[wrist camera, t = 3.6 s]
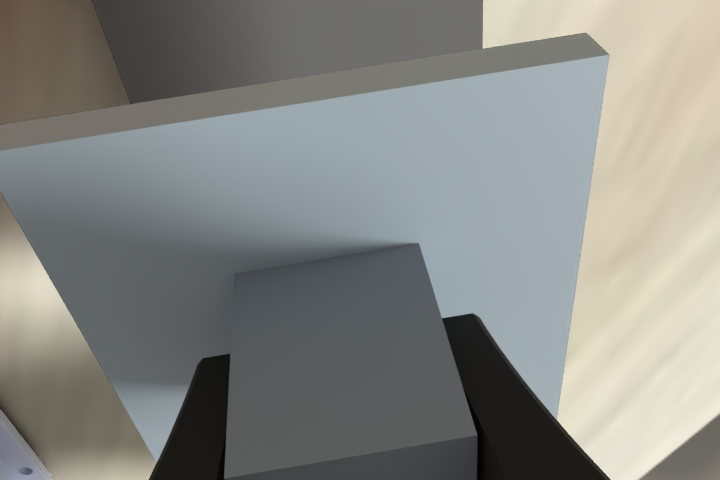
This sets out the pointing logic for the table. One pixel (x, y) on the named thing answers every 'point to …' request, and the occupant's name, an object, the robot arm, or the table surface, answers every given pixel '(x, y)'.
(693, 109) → the table surface
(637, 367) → the table surface
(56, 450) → the table surface
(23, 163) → the lid
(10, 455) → the robot arm
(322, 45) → the mat
